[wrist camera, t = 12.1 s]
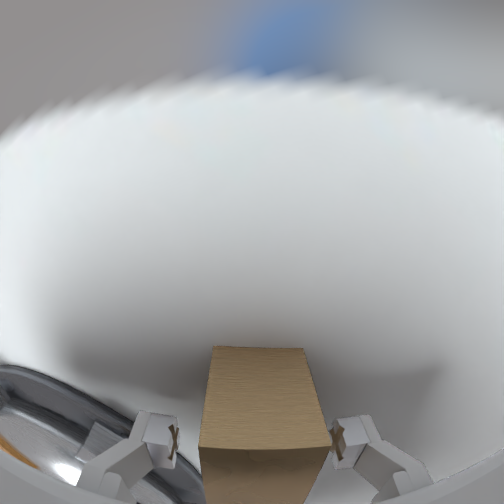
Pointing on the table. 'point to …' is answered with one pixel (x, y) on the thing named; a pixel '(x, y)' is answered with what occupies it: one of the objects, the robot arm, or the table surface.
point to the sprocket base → (93, 421)
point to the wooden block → (261, 427)
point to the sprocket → (66, 447)
